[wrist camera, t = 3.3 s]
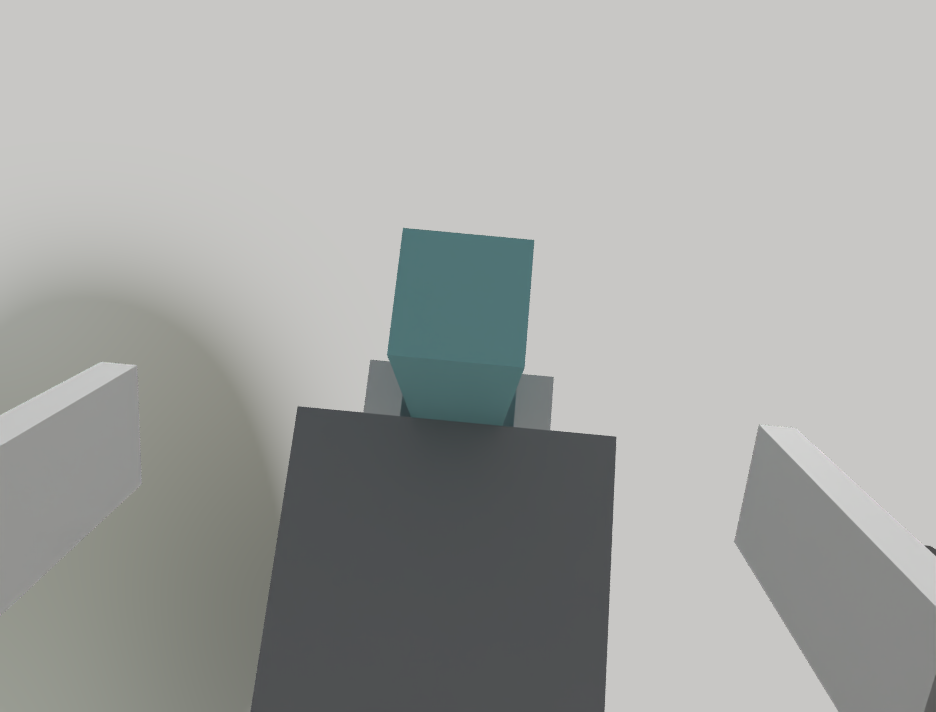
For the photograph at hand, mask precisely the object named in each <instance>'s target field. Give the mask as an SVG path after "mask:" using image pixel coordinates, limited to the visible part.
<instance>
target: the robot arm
mask: <svg viewBox="0 0 936 712" xmlns="http://www.w3.org/2000/svg"><path fill="white" fill-rule="evenodd" d="M141 484H142V479H141V453H140V428H139V402H138V376H137V365H129V364H119V363H108V362H100V363H98V364H96V365H94V366H92V367H91V368H89V369H87V370H85V371H83V372H81V373H79V374H77V375H75V376H74V377H72V378H70V379H68V380H66V381H64V382H62V383H61V384H58V385H56V386H54V387H53V388H51V389H49V390H47V391H45V392H43V393H41V394H39V395H37V396H35V397H34V398H32V399H30V400H28V401H26V402H24V403H22V404H20V405H18V406H17V407H15V408H13V409H11V410H9V411H7V412H5V413H3V414H1V415H0V616H1V615H2V614H3V613H4V612H5V611H6V610H7V609H8V608H9V607H10V606H11V605H13V604H14V603H15V602H16V601H17V600H18V599H19V598H20V597H21V596H22V595H23V594H24V593H26V591H28V590H29V589H30V588H31V587H32V586H33V585H34V584H35V583H36V582H37V581H38V580H39V579H40V578H42V577H43V576H44V575H45V574H46V573H47V572H48V571H49V570H50V569H51V568H52V567H53V566H54V565H55V564H56V563H58V562H59V561H60V560H61V559H62V558H63V557H64V556H65V555H66V554H67V553H68V552H69V551H71V550H72V549H73V548H74V547H75V546H76V545H77V544H78V543H79V542H80V541H81V540H82V539H83V538H84V537H85V536H87V535H88V534H89V532H91V531H92V530H93V529H94V528H95V527H96V526H97V525H98V524H99V523H100V522H101V521H103V520H104V519H105V518H106V517H107V516H108V515H109V514H110V513H111V512H112V511H113V510H115V509H116V508H117V507H118V506H119V505H120V504H121V503H122V502H123V501H124V500H125V499H126V498H127V497H128V496H130V495H131V494H132V493H133V492H134V491H135V490H136V489H137V488H138V487H139V486H140V485H141ZM734 542H735V544H736V545H737V547H738V549H739V550H740V552H741V553H742V555H743V557H744V558H745V560H746V562H747V563H748V565H749V566H750V568H751V570H752V571H753V573H754V575H755V576H756V578H757V579H758V581H759V583H760V584H761V586H762V588H763V589H764V591H765V592H766V594H767V596H768V597H769V599H770V601H771V602H772V604H773V606H774V607H775V609H776V610H777V612H778V614H779V615H780V617H781V619H782V620H783V622H784V624H785V625H786V627H787V628H788V630H789V632H790V633H791V635H792V637H793V638H794V640H795V641H796V643H797V645H798V646H799V648H800V650H801V651H802V653H803V654H804V656H805V658H806V659H807V661H808V663H809V664H810V666H811V667H812V669H813V671H814V672H815V674H816V676H817V677H818V679H819V680H820V682H821V684H822V685H823V687H824V689H825V690H826V692H827V694H828V695H829V697H830V698H831V700H832V702H833V703H834V705H835V707H836V708H837V710H838V711H839V712H936V549H934V548H933V547H931V546H924V545H923V544H922V543H921V542H920V541H919V540H918V539H916V538H915V537H914V536H913V535H912V534H911V533H910V532H909V531H908V530H907V529H906V528H904V527H903V526H902V525H901V524H900V523H899V522H898V521H897V520H896V519H895V518H894V517H892V516H891V515H890V514H889V513H888V512H887V511H886V510H885V509H884V508H883V507H882V506H880V505H879V504H878V503H877V502H876V501H875V500H874V499H872V497H871V496H870V495H868V494H867V493H866V492H865V491H864V490H863V489H862V488H861V487H860V486H859V485H857V484H856V483H855V482H854V481H853V480H852V479H851V478H850V477H849V476H848V475H847V474H845V473H844V472H843V471H842V470H841V469H840V468H839V467H838V466H837V465H836V464H835V463H833V462H832V461H831V460H830V459H829V458H828V457H827V456H826V455H825V454H823V453H822V452H821V451H820V450H819V449H818V448H817V447H816V446H815V445H814V444H813V443H812V442H810V441H809V440H808V439H807V438H806V437H805V436H804V435H803V434H802V433H801V432H800V431H798V430H797V429H796V428H791V427H780V426H770V425H759V427H758V432H757V436H756V441H755V446H754V451H753V455H752V460H751V465H750V470H749V474H748V480H747V484H746V489H745V493H744V498H743V503H742V508H741V513H740V517H739V522H738V527H737V532H736V536H735V541H734Z"/></svg>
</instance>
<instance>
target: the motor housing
mask: <svg viewBox="0 0 936 712" xmlns="http://www.w3.org/2000/svg"><path fill="white" fill-rule="evenodd" d="M552 393H553V377H547V376H537V375H526V374H522V375H521V378H520V381H519V383H518V386H517V389H516V391H515V394H514V396H513V399H512V402H511V404H510V407H509V409H508V412H507V415H506V417H505V420H504V422H503V425H502V426H498V425H487V424H477V423H466V422H456V421H445V420H435V419H424V418H414V417H411V415H410V413H409V410H408V408H407V405H406V403H405V400H404V397H403V395H402V392H401V390H400V387H399V384H398V382H397V379H396V377H395V374H394V371H393V369H392V366H391V364H390V362H388V361H377V360H370V367H369V375H368V382H367V390H366V397H365V405H364V413H361V412H350V411H340V410H329V409H319V408H309V407H308V408H307V407H298V408H297V415H296V421H295V428H294V434H293V441H292V447H291V454H290V461H289V467H288V473H287V479H286V486H285V492H284V499H283V506H282V512H281V519H280V525H279V531H278V538H277V544H276V551H275V557H274V563H273V570H272V576H271V583H270V589H269V596H268V602H267V609H266V615H265V622H264V629H263V635H262V642H261V648H260V654H259V660H258V667H257V673H256V680H255V687H254V693H253V699H252V706H251V712H604V707H605V686H606V662H607V639H608V616H609V593H610V592H609V591H610V570H611V547H612V524H613V500H614V478H615V454H616V437H613V436H602V435H592V434H582V433H571V432H561V431H550V424H551V409H552V408H551V407H552Z"/></svg>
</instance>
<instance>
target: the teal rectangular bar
mask: <svg viewBox="0 0 936 712" xmlns="http://www.w3.org/2000/svg"><path fill="white" fill-rule="evenodd" d="M533 249H534V240H527V239H516V238H506V237H494V236H484V235H473V234H461V233H451V232H441V231H429V230H419V229H408V228H403V233H402V241H401V249H400V257H399V265H398V273H397V281H396V289H395V297H394V305H393V313H392V320H391V328H390V337H389V344H388V353H387V355H388V358H389V360H390V364H391V366H392V369H393V371H394V374H395V377H396V379H397V382H398V384H399V387H400V390H401V392H402V395H403V397H404V400H405V403H406V405H407V408H408V410H409V413H410V415H411V417H414V418H424V419H435V420H445V421H456V422H466V423H477V424H487V425H498V426H502V425H503V422H504V420H505V417H506V415H507V412H508V409H509V407H510V404H511V402H512V399H513V396H514V394H515V391H516V389H517V386H518V383H519V381H520V378H521V375H522V373H523V370H524V366H525V354H526V341H527V328H528V315H529V301H530V289H531V275H532V262H533Z"/></svg>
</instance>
